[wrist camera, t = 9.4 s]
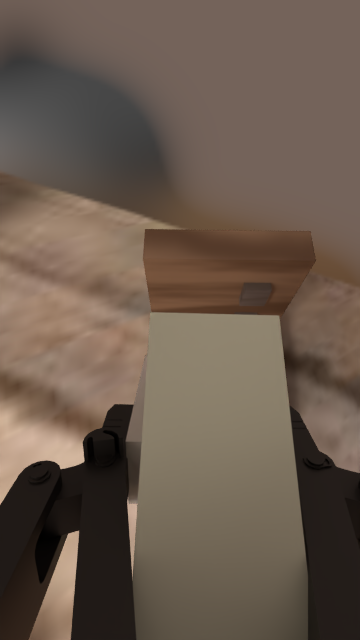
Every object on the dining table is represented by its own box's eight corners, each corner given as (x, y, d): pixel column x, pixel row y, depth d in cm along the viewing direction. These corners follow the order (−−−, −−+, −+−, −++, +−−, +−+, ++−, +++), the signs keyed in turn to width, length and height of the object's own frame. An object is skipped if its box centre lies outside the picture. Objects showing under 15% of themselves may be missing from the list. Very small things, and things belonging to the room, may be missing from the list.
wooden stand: (284, 434, 38) (349, 404, 23) (150, 432, 38) (132, 400, 23) (270, 314, 44) (316, 231, 29) (156, 313, 44) (145, 229, 29)
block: (252, 552, 18) (368, 657, 7) (155, 549, 18) (127, 651, 7) (244, 399, 22) (314, 316, 11) (162, 397, 22) (150, 312, 11)
